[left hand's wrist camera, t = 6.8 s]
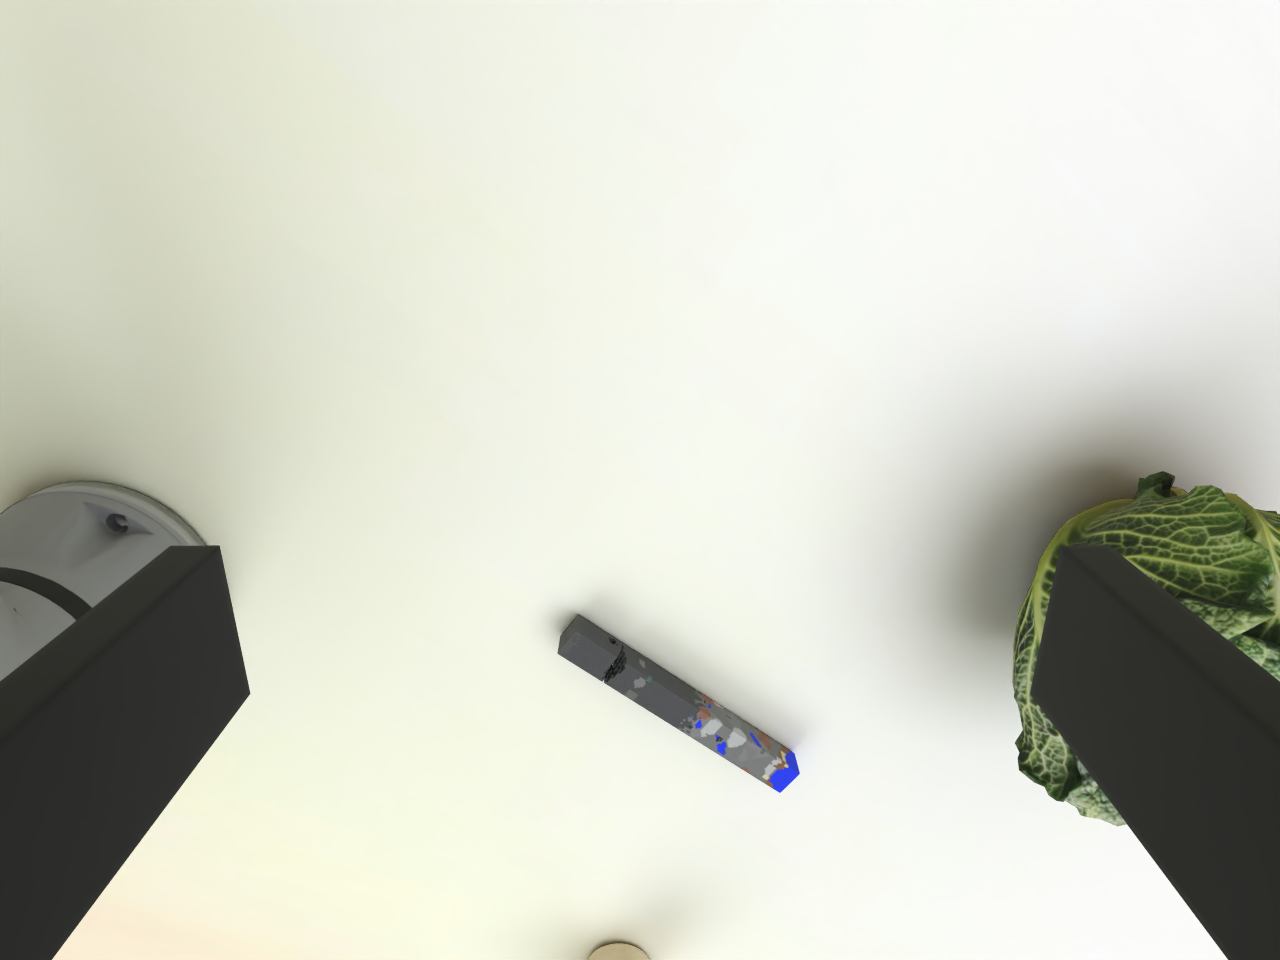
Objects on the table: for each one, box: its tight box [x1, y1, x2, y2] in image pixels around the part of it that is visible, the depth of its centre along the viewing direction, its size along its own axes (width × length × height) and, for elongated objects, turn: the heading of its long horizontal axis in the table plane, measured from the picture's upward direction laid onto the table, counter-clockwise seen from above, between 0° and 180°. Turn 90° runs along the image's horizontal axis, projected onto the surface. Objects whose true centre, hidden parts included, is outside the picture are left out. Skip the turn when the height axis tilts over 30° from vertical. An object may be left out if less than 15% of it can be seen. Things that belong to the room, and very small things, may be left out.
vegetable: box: [1012, 471, 1280, 826], centre depth 46 cm, size 20×19×20 cm
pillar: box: [558, 614, 800, 793], centre depth 57 cm, size 2×2×20 cm
